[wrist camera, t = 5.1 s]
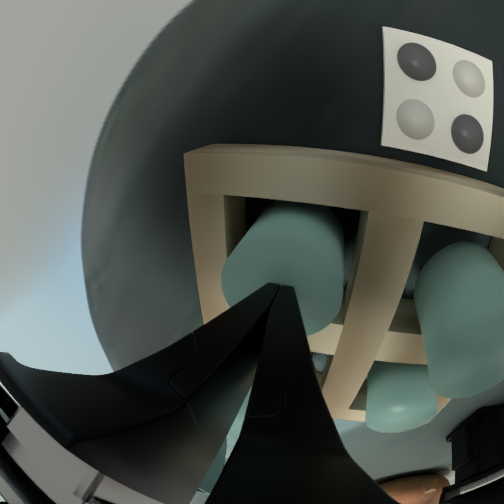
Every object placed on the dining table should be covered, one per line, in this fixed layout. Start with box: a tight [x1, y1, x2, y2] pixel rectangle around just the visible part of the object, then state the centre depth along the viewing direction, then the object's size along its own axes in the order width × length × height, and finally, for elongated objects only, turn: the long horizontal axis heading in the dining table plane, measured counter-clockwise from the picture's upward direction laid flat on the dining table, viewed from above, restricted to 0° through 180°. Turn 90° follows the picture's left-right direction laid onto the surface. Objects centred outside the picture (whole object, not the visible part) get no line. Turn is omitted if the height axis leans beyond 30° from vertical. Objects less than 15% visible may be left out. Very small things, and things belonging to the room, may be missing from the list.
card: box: [381, 26, 493, 172], centre depth 7 cm, size 5×5×1 cm
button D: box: [221, 200, 344, 336], centre depth 10 cm, size 4×4×4 cm
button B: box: [414, 241, 504, 399], centre depth 7 cm, size 4×4×4 cm
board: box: [183, 144, 504, 423], centre depth 12 cm, size 15×15×2 cm
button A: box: [365, 360, 438, 433], centre depth 12 cm, size 4×4×4 cm
